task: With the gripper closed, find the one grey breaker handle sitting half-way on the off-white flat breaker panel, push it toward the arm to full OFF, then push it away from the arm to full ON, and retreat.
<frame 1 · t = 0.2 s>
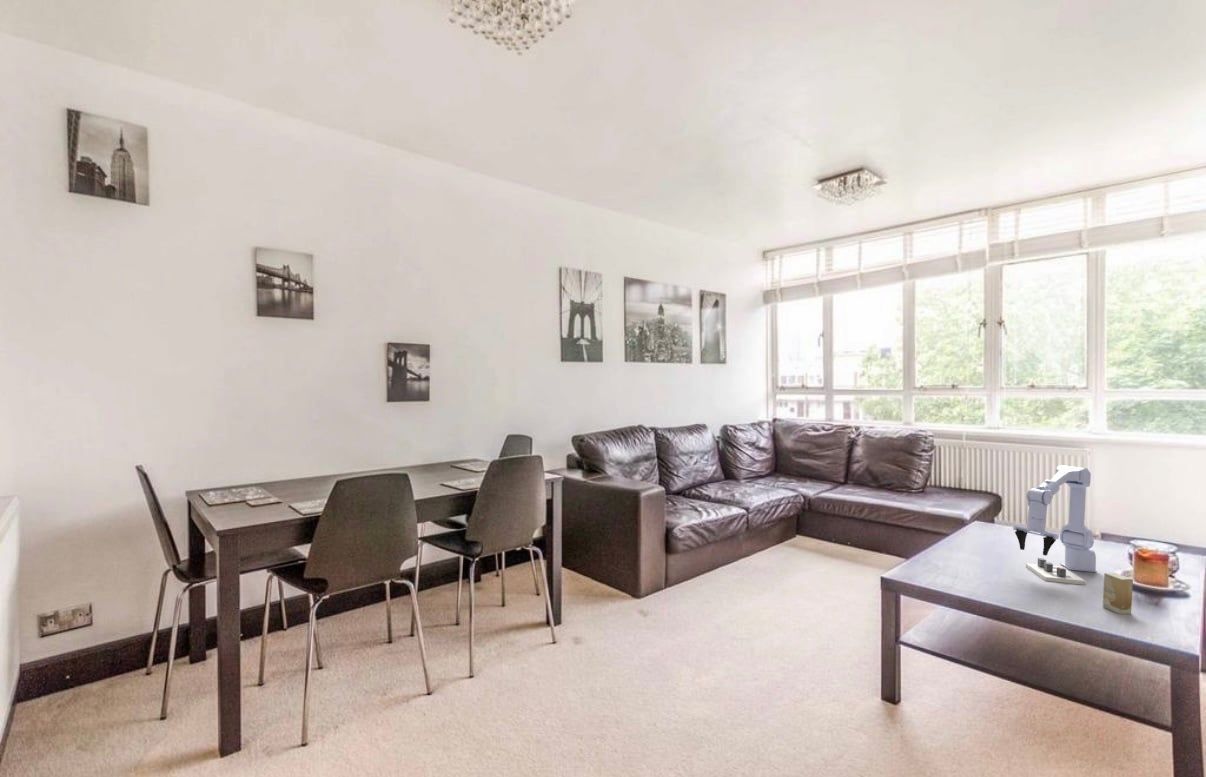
hand: (1033, 552, 216), 10 cm above the table, tool pointing down, fingers open, 7 cm apart
breaker panel: (1054, 575, 220), on the table
skincare box: (1117, 611, 186), on the table
tripped breaker: (1061, 571, 214), point 3 cm above the table, slide at 2.0 cm
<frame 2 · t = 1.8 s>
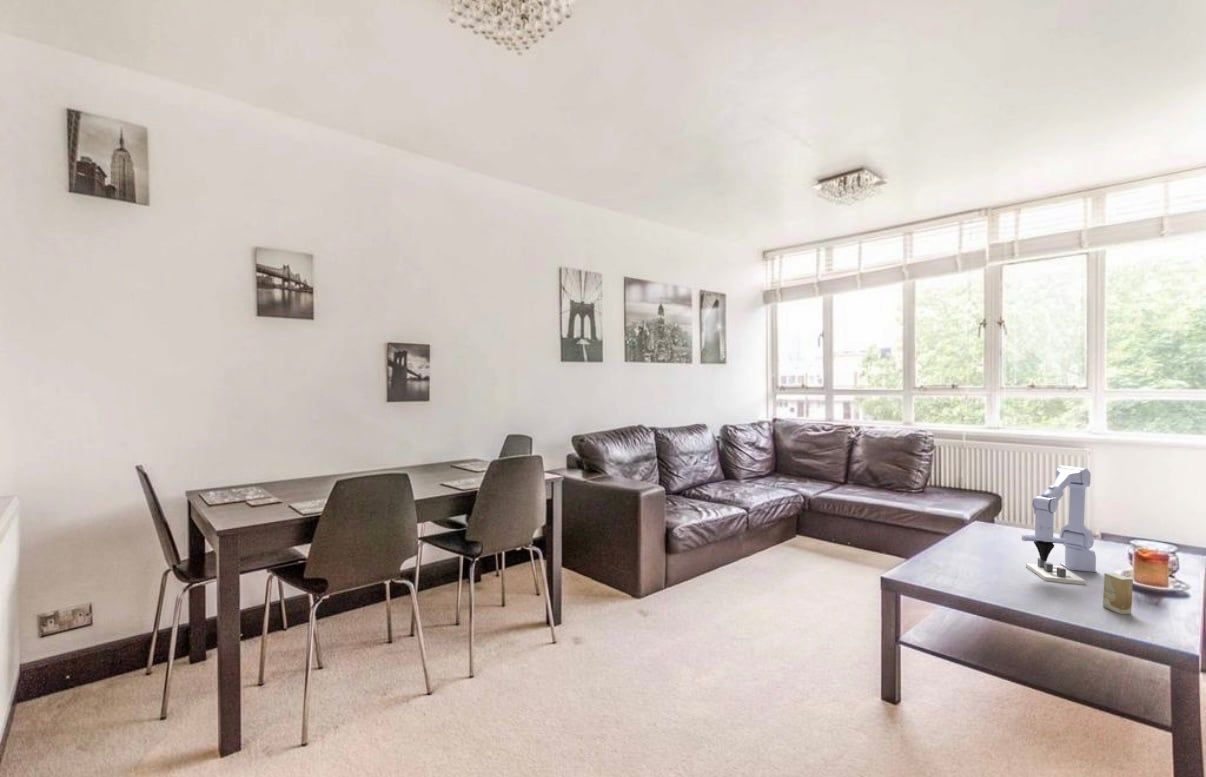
hand: (1043, 560, 216), 7 cm above the table, tool pointing down, fingers closed
nothing on the table moved.
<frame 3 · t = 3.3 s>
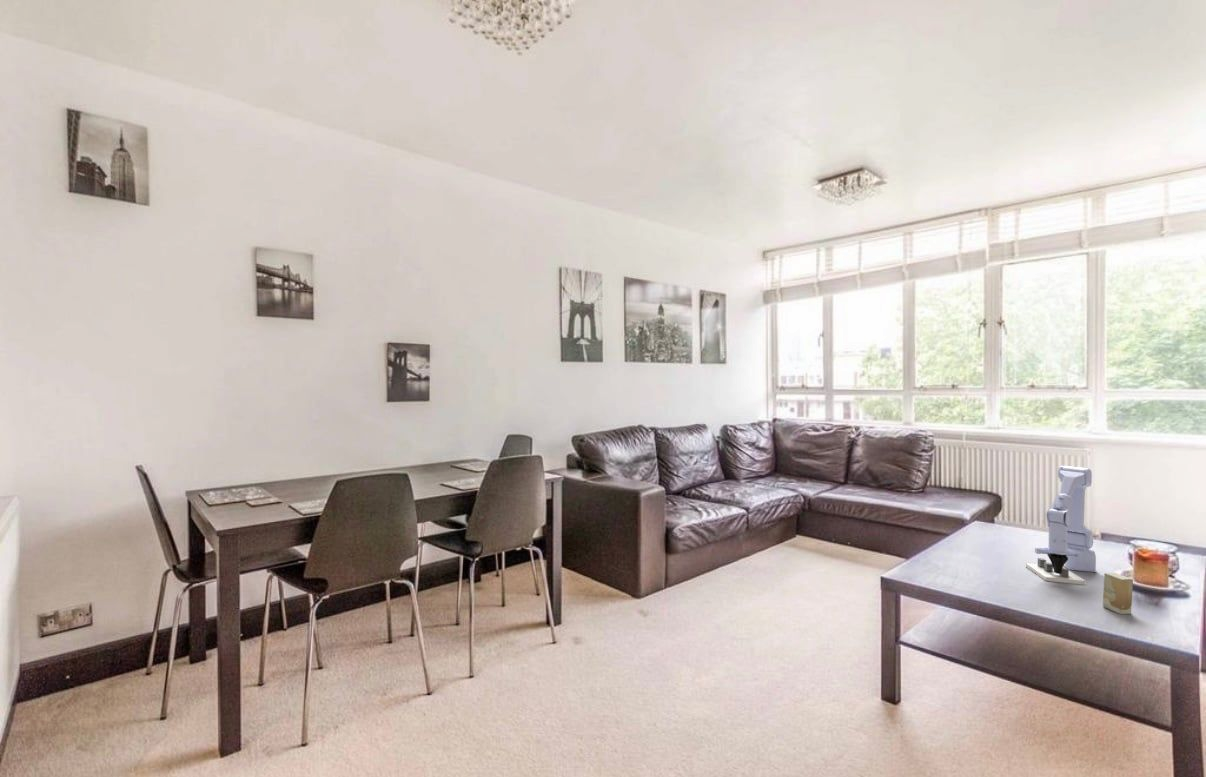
hand: (1057, 572, 215), 3 cm above the table, tool pointing down, fingers closed
tripped breaker: (1063, 572, 214), point 3 cm above the table, slide at 1.1 cm, touching gripper
everything else where it was.
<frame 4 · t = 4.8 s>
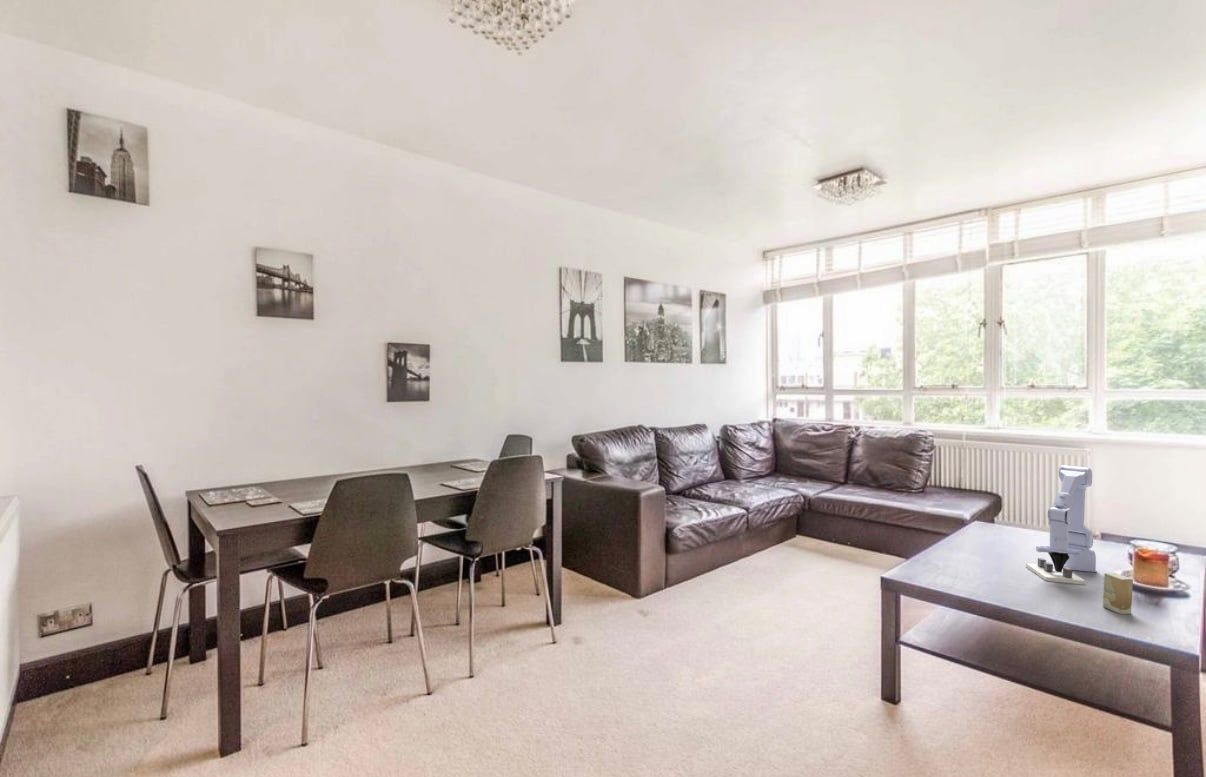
hand: (1058, 571, 215), 3 cm above the table, tool pointing down, fingers closed
tripped breaker: (1067, 572, 214), point 3 cm above the table, slide at -0.1 cm
everything else where it was.
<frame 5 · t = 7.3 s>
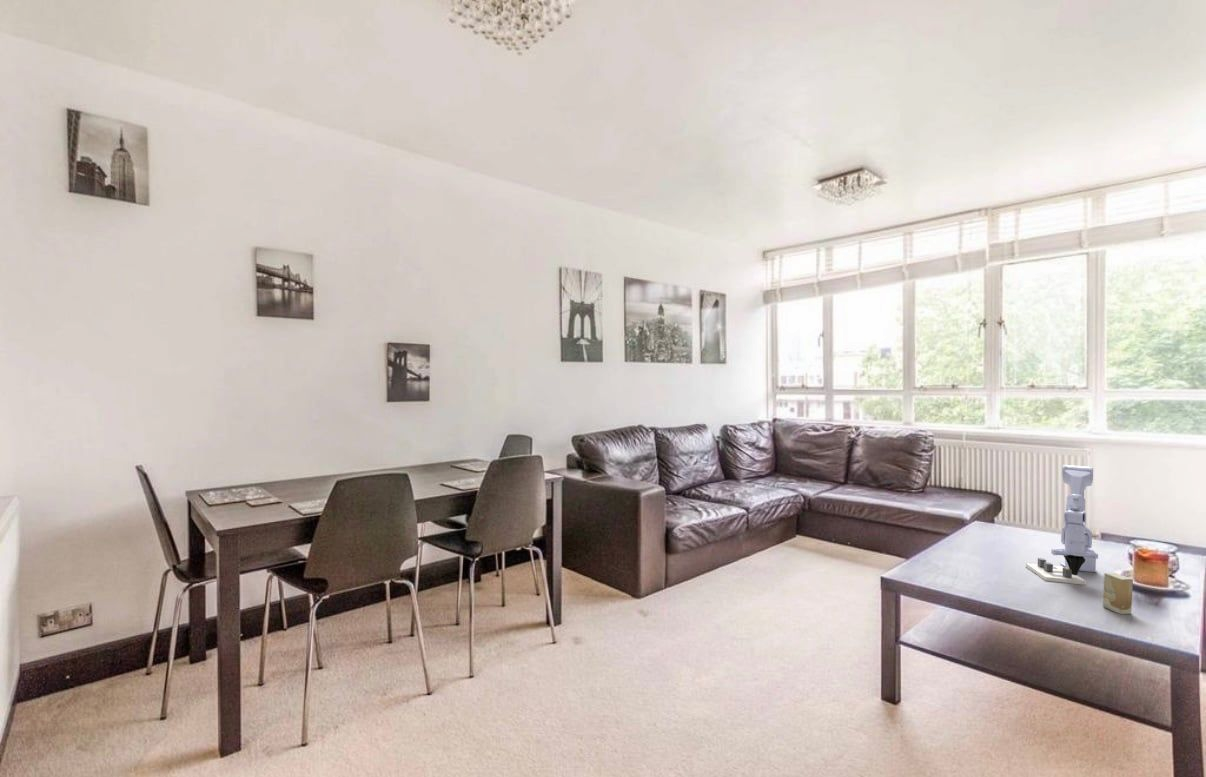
hand: (1073, 574, 213), 3 cm above the table, tool pointing down, fingers closed
tripped breaker: (1067, 572, 214), point 3 cm above the table, slide at 0.0 cm, touching gripper
everything else where it was.
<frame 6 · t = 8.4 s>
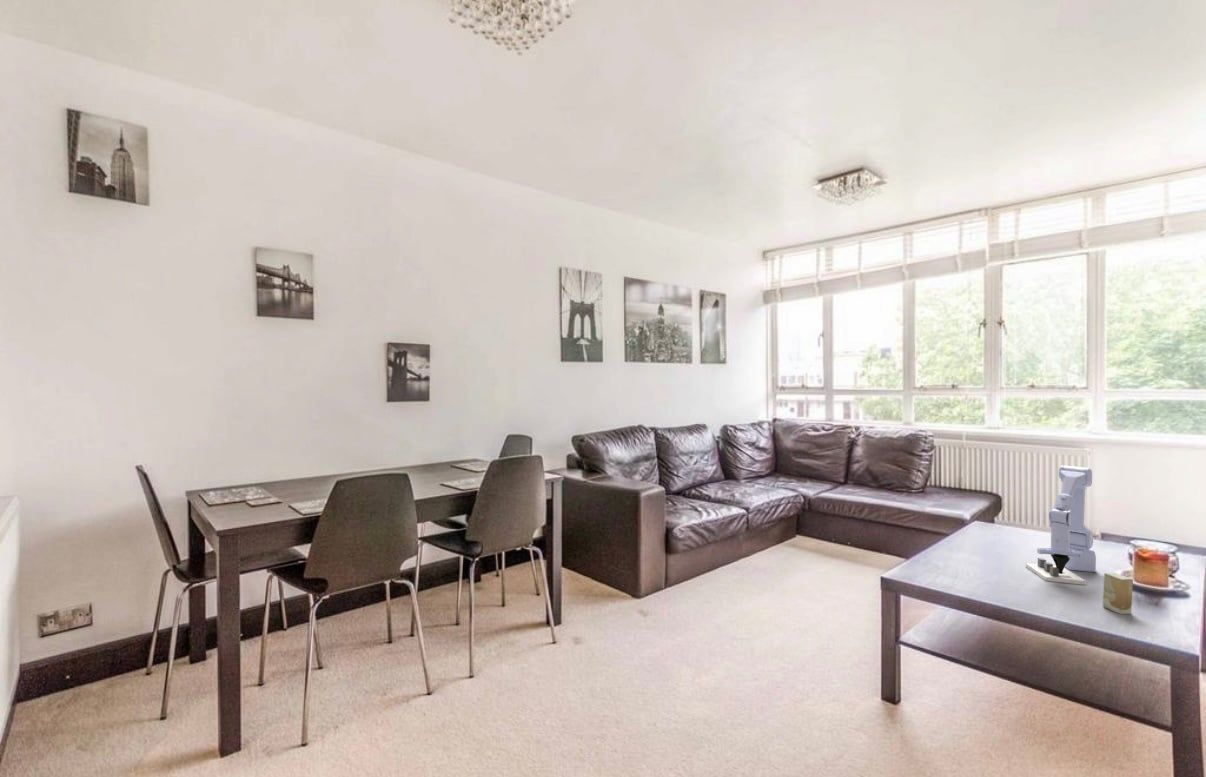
hand: (1059, 573, 214), 3 cm above the table, tool pointing down, fingers closed
tripped breaker: (1054, 571, 215), point 3 cm above the table, slide at 4.3 cm, touching gripper
everything else where it was.
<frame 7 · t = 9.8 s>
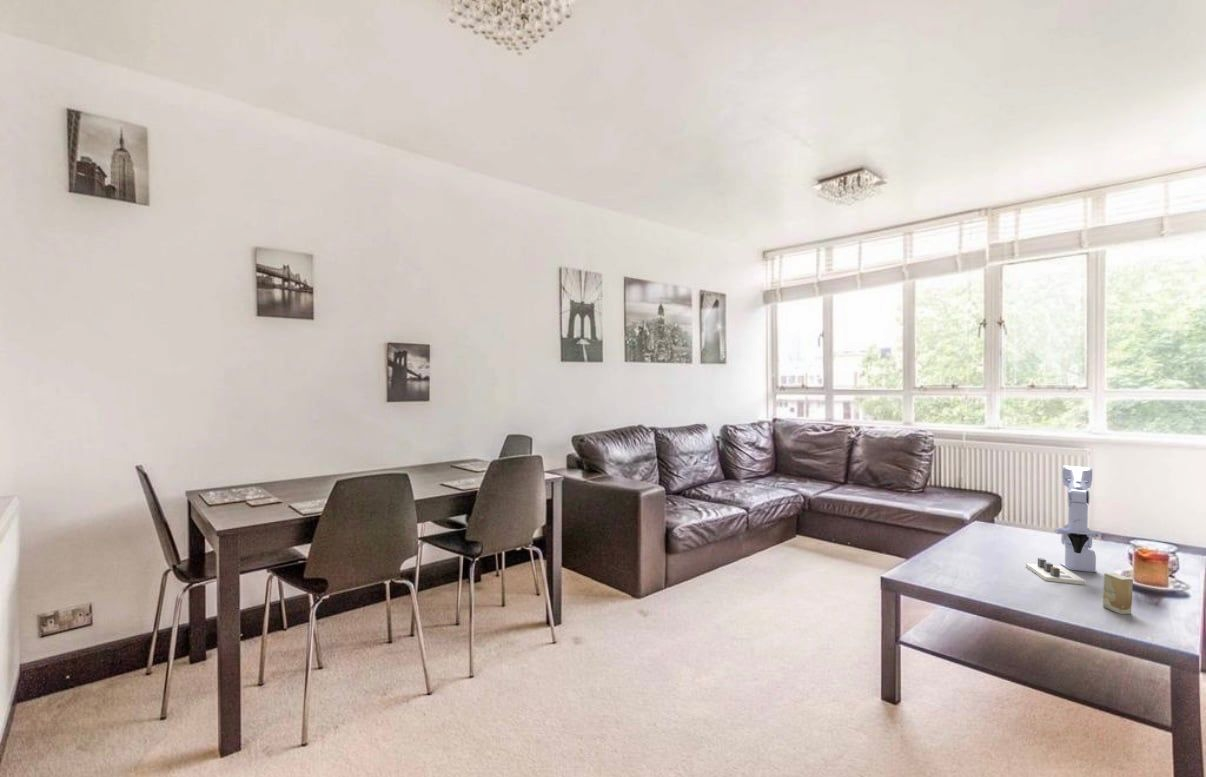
hand: (1077, 552, 217), 10 cm above the table, tool pointing down, fingers closed
tripped breaker: (1055, 571, 215), point 3 cm above the table, slide at 4.1 cm
everything else where it was.
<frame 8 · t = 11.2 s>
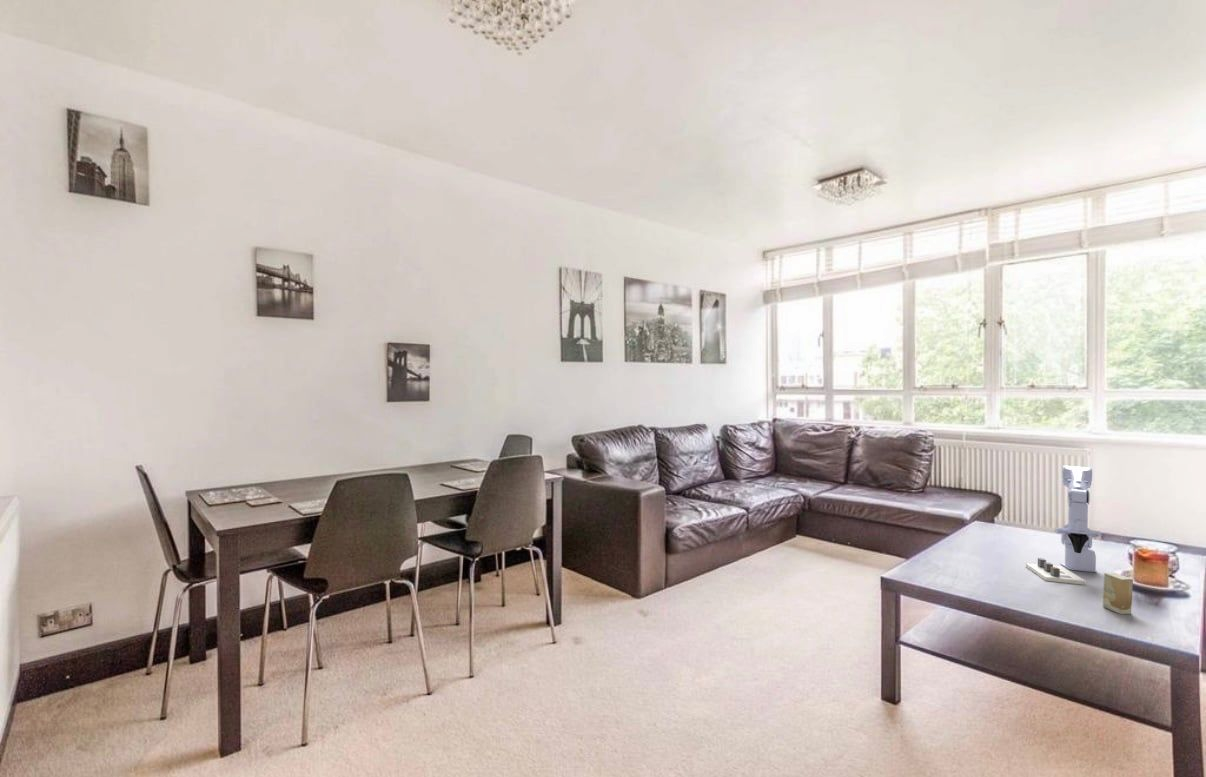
hand: (1077, 552, 217), 10 cm above the table, tool pointing down, fingers closed
nothing on the table moved.
at the end: tripped breaker slide at 4.1 cm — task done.
